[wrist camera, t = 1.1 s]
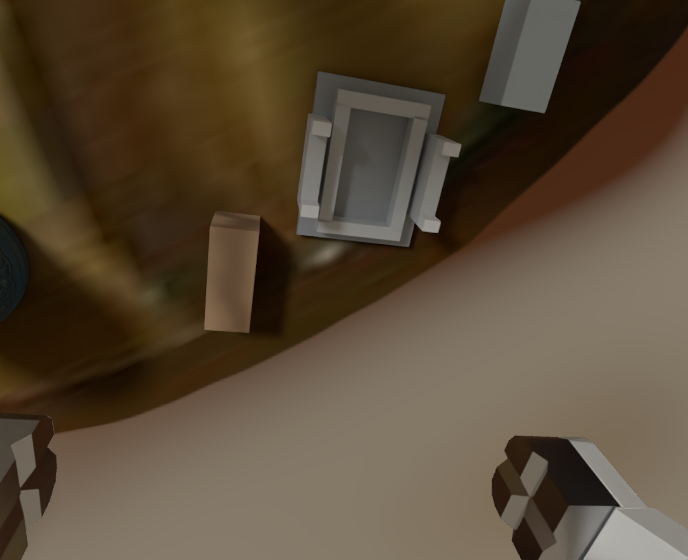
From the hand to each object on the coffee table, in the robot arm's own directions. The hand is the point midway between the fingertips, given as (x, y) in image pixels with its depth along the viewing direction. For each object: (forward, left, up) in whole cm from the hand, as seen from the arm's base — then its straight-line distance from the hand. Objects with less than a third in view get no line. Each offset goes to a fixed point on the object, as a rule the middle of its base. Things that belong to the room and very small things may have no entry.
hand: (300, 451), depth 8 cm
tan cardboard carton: (+12, -3, -35) cm, 37 cm away
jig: (+1, +8, -35) cm, 36 cm away
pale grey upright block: (-10, +19, -35) cm, 42 cm away
